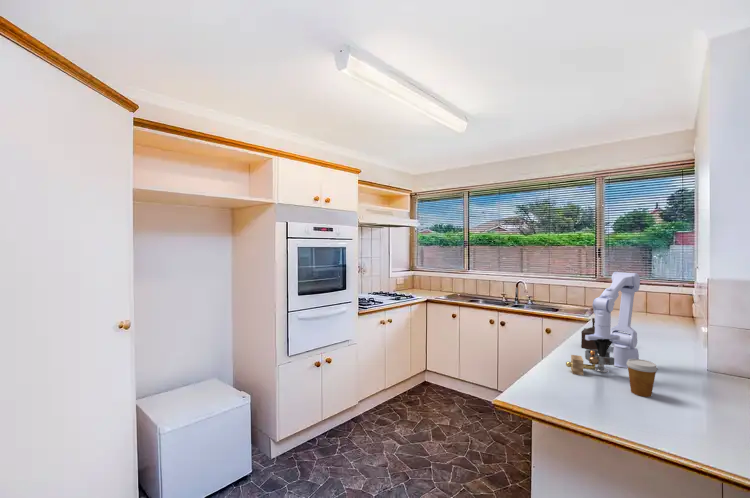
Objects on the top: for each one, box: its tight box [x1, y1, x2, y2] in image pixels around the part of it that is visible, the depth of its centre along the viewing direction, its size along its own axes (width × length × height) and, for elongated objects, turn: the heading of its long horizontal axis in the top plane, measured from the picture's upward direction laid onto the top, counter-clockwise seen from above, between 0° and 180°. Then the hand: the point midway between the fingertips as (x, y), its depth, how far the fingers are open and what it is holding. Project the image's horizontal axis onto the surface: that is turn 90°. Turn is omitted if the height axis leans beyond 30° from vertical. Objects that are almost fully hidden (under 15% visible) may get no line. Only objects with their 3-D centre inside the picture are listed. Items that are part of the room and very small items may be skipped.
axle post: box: [594, 364, 610, 374], centre depth 158 cm, size 6×6×4 cm
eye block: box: [570, 354, 584, 376], centre depth 155 cm, size 4×7×6 cm, turn 156°
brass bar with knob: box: [565, 356, 599, 371], centre depth 154 cm, size 13×4×6 cm, turn 66°
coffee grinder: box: [580, 317, 597, 350], centre depth 193 cm, size 16×11×18 cm
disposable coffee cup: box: [626, 359, 659, 398], centre depth 133 cm, size 10×10×12 cm
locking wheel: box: [584, 349, 614, 366], centre depth 158 cm, size 10×12×5 cm
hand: (602, 356), depth 151 cm, fingers closed
